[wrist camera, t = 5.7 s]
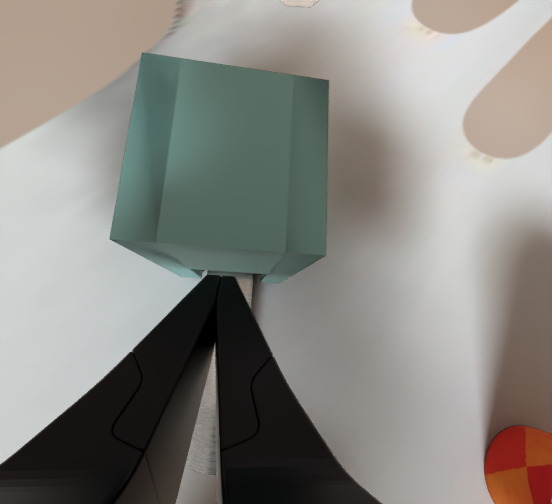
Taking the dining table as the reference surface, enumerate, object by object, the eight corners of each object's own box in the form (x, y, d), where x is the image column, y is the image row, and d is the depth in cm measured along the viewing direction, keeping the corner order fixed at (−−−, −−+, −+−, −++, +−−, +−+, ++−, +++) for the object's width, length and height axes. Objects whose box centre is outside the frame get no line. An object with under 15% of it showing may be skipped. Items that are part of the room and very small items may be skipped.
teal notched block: (279, 283, 18) (326, 255, 8) (181, 276, 17) (109, 238, 8) (284, 193, 19) (328, 80, 9) (192, 184, 18) (142, 52, 9)
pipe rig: (310, 434, 16) (338, 483, 12) (120, 433, 15) (67, 489, 11) (317, 161, 20) (340, 117, 15) (162, 143, 19) (137, 89, 14)
